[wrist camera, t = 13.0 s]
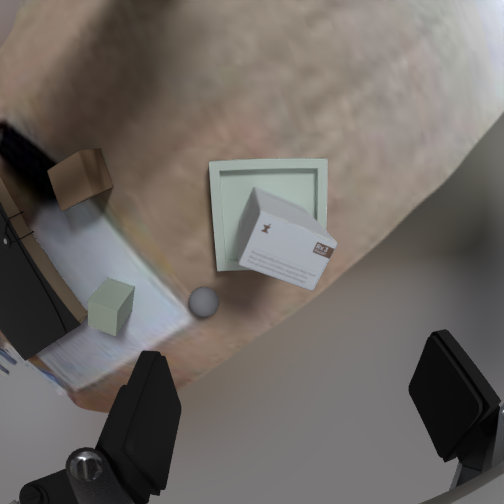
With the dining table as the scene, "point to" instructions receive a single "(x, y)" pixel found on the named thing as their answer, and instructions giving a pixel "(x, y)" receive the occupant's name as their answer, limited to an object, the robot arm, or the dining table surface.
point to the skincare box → (283, 240)
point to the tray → (266, 178)
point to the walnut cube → (79, 177)
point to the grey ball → (203, 301)
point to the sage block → (110, 306)
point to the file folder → (31, 287)
